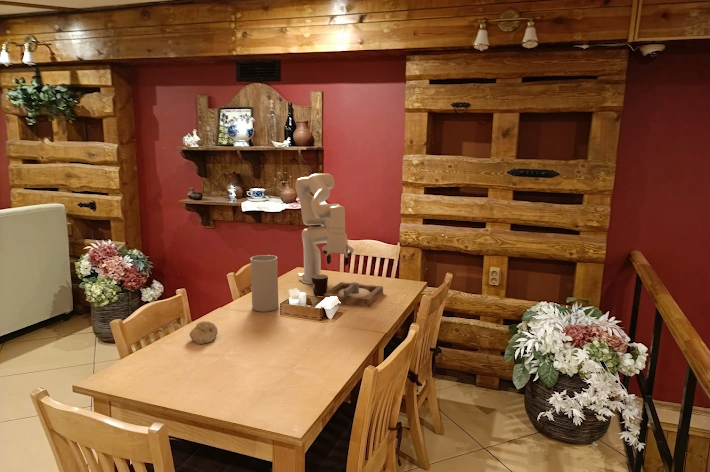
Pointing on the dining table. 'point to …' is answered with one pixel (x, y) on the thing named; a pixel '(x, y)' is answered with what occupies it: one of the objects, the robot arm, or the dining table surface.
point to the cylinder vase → (264, 283)
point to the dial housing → (354, 300)
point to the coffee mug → (319, 284)
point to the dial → (354, 291)
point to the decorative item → (204, 332)
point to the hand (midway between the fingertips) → (337, 264)
